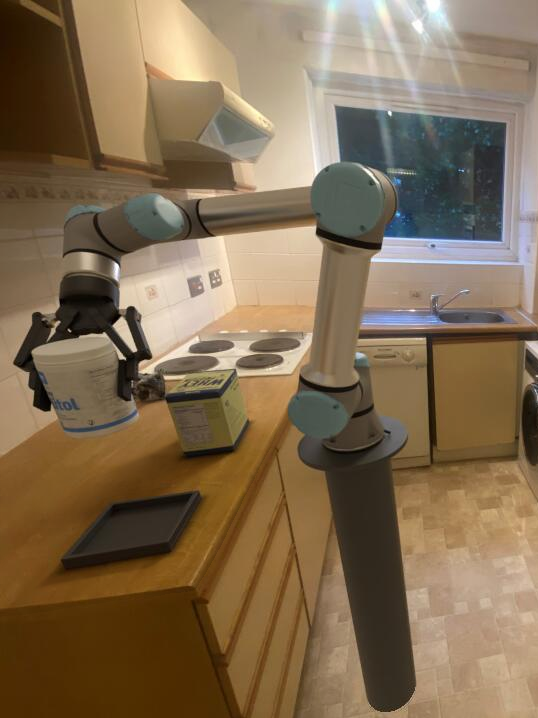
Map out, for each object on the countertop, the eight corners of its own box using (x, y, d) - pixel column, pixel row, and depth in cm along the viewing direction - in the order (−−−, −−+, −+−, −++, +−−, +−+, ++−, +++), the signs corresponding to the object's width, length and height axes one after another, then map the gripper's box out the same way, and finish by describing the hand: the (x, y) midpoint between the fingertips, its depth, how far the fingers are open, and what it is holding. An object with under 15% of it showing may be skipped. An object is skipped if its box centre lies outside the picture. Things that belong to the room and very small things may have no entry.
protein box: (250, 421, 116) (236, 367, 110) (235, 451, 102) (218, 391, 96) (205, 427, 113) (188, 371, 107) (183, 458, 99) (163, 396, 93)
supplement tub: (50, 440, 70) (8, 353, 64) (104, 413, 78) (72, 335, 73) (107, 442, 69) (70, 355, 63) (155, 415, 78) (127, 336, 72)
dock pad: (201, 498, 86) (199, 489, 85) (171, 551, 73) (167, 541, 72) (113, 511, 82) (109, 502, 81) (65, 569, 69) (60, 559, 68)
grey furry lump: (180, 371, 139) (157, 360, 125) (180, 404, 137) (156, 397, 123) (137, 373, 136) (108, 362, 122) (136, 407, 134) (106, 400, 120)
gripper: (175, 293, 83) (177, 400, 76) (22, 302, 75) (8, 423, 68) (158, 269, 77) (158, 384, 69) (-12, 276, 69) (-31, 406, 61)
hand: (84, 403), depth 69 cm, fingers closed on supplement tub, 10 cm apart
